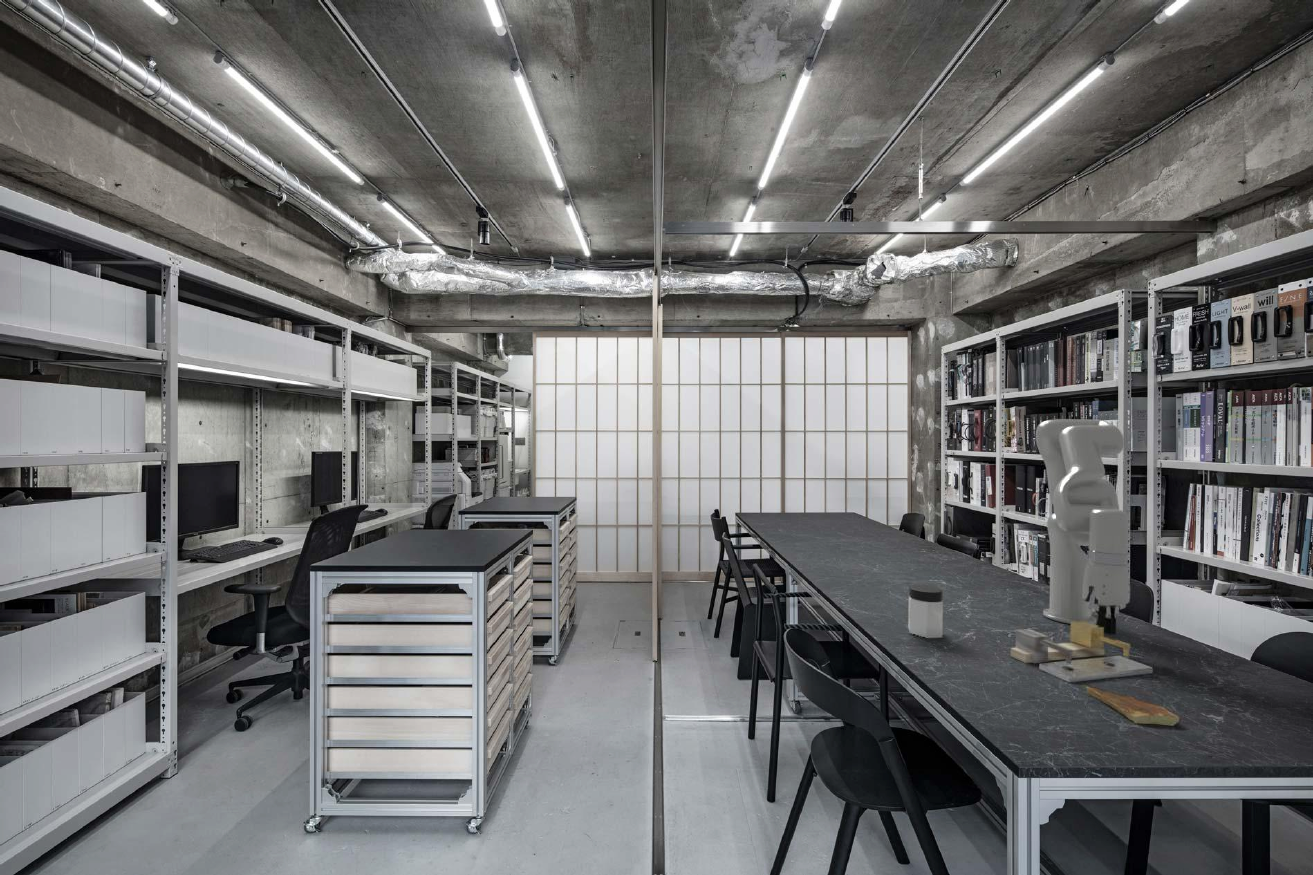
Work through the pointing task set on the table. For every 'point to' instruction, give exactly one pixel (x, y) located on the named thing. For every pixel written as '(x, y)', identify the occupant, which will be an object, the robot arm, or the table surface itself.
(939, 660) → the table surface
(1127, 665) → the bolt plate
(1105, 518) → the robot arm
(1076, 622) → the sliding leg
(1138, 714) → the shard
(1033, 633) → the divider rail
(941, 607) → the jar
